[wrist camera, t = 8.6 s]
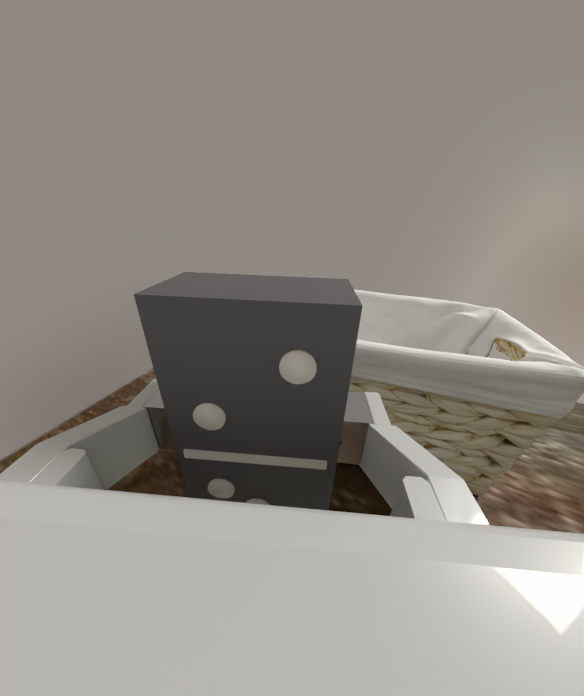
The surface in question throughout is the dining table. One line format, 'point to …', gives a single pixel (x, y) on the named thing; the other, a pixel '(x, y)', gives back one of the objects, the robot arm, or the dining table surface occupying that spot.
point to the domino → (253, 381)
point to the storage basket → (462, 380)
